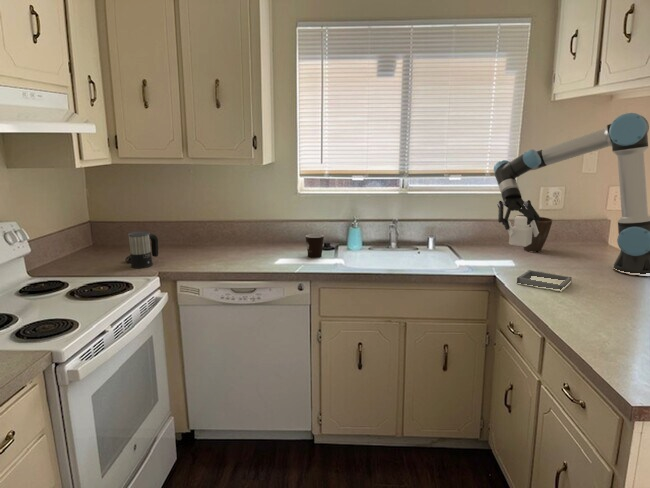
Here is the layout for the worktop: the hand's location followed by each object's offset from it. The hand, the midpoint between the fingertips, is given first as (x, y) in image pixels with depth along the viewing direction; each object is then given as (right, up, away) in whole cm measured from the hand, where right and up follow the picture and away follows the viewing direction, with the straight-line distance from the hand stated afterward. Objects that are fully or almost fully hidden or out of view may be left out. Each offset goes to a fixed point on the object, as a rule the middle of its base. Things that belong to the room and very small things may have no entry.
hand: (524, 235), depth 199 cm
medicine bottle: (0, -4, +4) cm, 6 cm away
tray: (+3, -19, -10) cm, 22 cm away
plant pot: (+22, -7, +43) cm, 48 cm away
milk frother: (-166, -13, +21) cm, 167 cm away
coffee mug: (-86, -9, +35) cm, 93 cm away
